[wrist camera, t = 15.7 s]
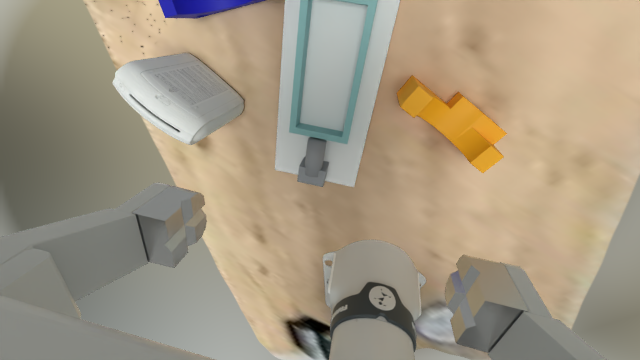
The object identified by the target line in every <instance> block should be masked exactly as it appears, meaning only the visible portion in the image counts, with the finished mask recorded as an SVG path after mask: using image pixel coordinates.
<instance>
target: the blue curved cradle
mask: <svg viewBox="0 0 640 360" xmlns="http://www.w3.org/2000/svg"><path fill="white" fill-rule="evenodd" d="M261 1H265V0H159V3H160V6H161V8H162V11H163V13H164V16H165V18H200V17H204V16H208V15H212V14H216V13H219V12H223V11H227V10H231V9H235V8H239V7H242V6H246V5H250V4H254V3H258V2H261Z"/></svg>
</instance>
